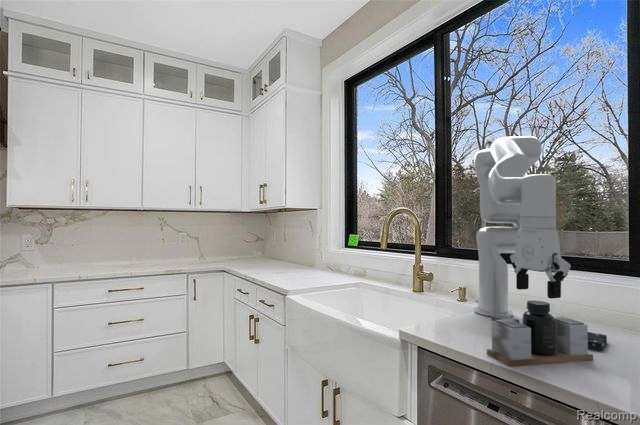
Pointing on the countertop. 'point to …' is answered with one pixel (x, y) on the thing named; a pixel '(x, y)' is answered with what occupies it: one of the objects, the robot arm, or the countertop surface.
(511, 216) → the robot arm
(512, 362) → the rail
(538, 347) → the supplement bottle
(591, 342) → the disk drive
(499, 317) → the block
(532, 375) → the countertop surface
